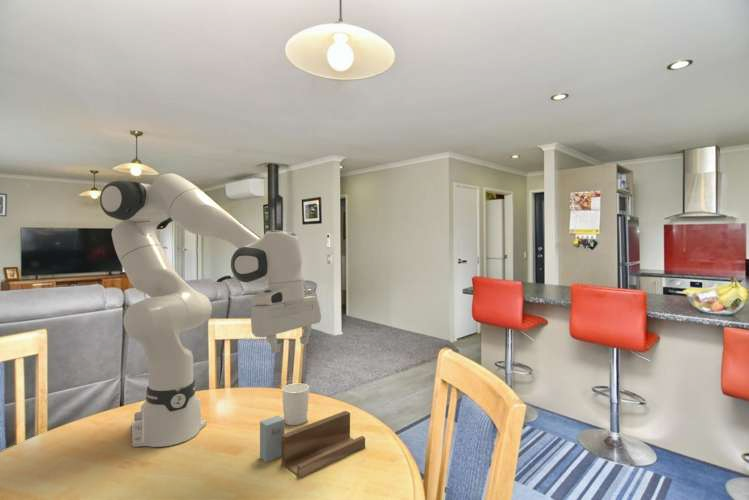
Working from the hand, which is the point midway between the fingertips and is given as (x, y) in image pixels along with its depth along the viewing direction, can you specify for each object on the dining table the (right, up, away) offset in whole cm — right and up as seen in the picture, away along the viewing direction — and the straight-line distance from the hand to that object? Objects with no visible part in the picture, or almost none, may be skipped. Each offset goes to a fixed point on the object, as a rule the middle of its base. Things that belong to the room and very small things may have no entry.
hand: (291, 347), depth 98 cm
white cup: (-3, -27, +19) cm, 33 cm away
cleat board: (+9, -27, 0) cm, 28 cm away
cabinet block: (-5, -27, -1) cm, 27 cm away
